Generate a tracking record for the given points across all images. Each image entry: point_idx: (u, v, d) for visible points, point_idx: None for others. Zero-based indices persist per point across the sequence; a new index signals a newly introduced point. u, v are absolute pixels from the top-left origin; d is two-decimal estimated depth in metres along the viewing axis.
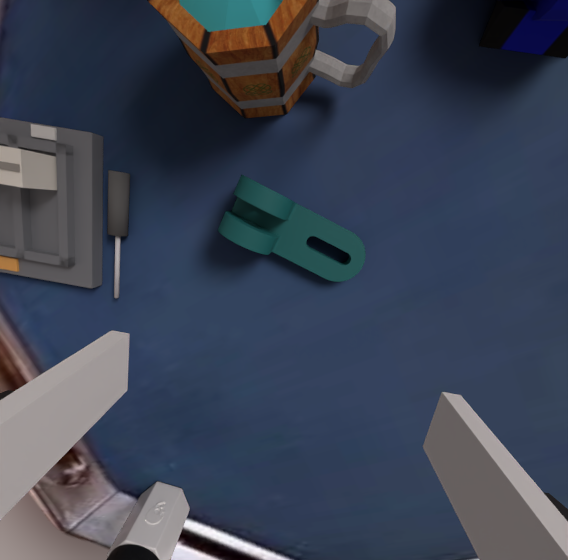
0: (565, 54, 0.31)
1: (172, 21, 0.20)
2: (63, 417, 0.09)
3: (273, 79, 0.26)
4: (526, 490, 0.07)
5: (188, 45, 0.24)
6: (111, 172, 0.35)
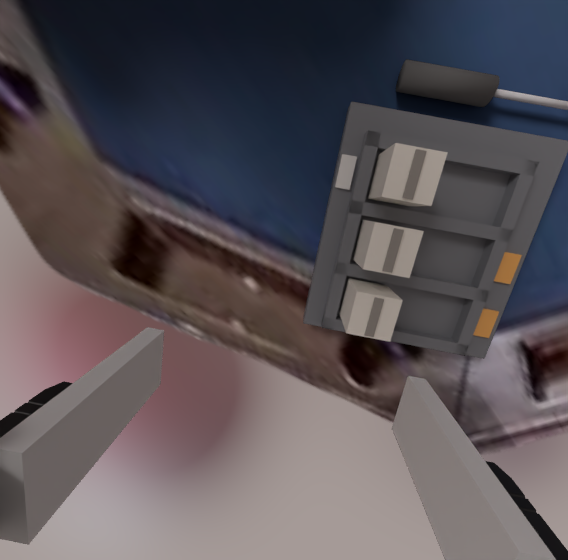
0: None
1: None
2: (114, 407, 0.10)
3: None
4: (468, 456, 0.08)
5: None
6: (407, 73, 0.25)
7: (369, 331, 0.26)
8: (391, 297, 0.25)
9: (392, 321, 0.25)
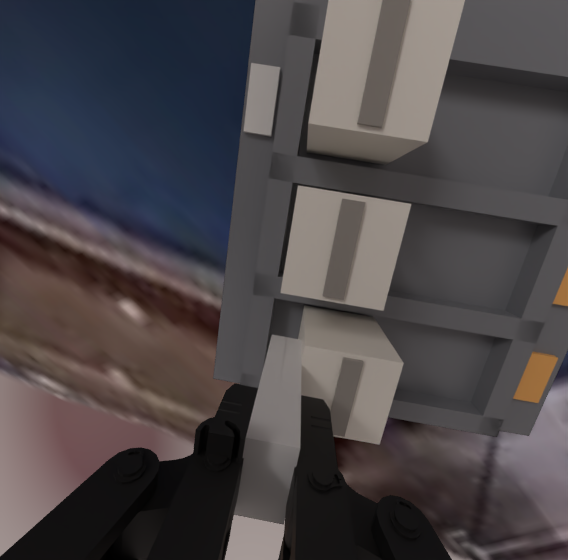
0: None
1: None
2: None
3: None
4: (287, 389, 0.10)
5: None
6: None
7: (336, 424, 0.12)
8: (379, 356, 0.12)
9: (383, 405, 0.12)
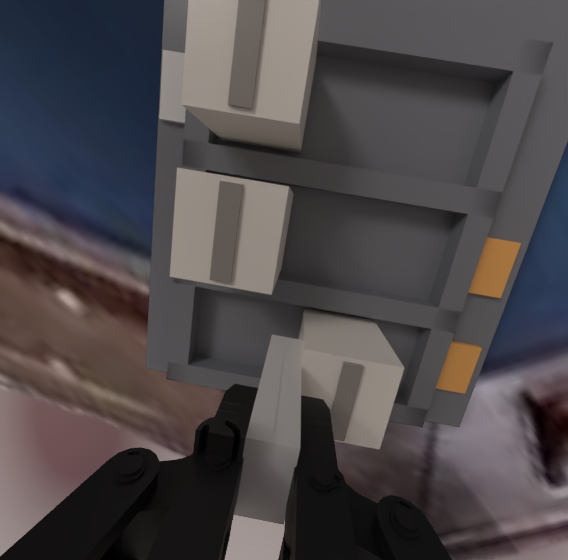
0: None
1: None
2: None
3: None
4: (287, 389, 0.10)
5: None
6: None
7: (336, 429, 0.12)
8: (380, 360, 0.12)
9: (383, 410, 0.12)
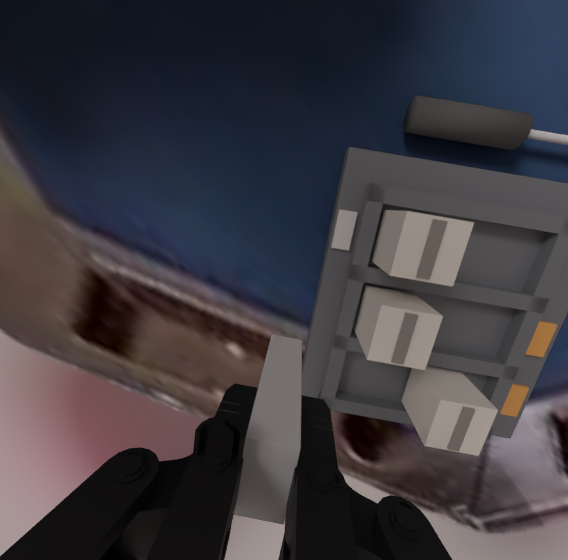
0: None
1: None
2: None
3: None
4: (288, 389, 0.10)
5: None
6: (418, 113, 0.20)
7: (453, 444, 0.21)
8: (482, 405, 0.20)
9: (483, 433, 0.20)
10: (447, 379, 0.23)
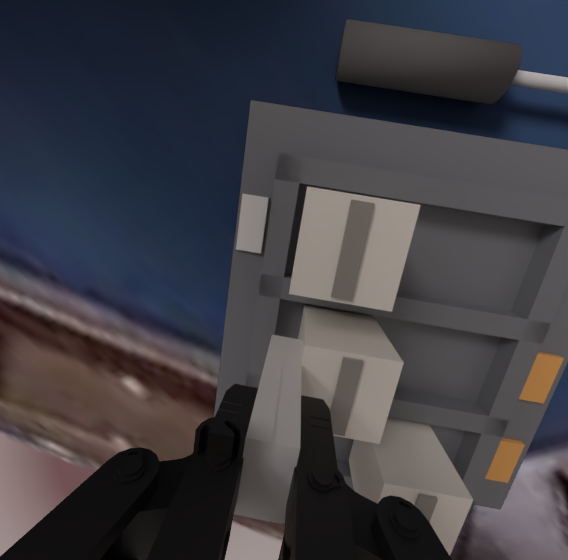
0: None
1: None
2: None
3: None
4: (288, 389, 0.10)
5: None
6: (347, 44, 0.13)
7: None
8: (450, 490, 0.13)
9: (452, 532, 0.13)
10: (404, 439, 0.16)
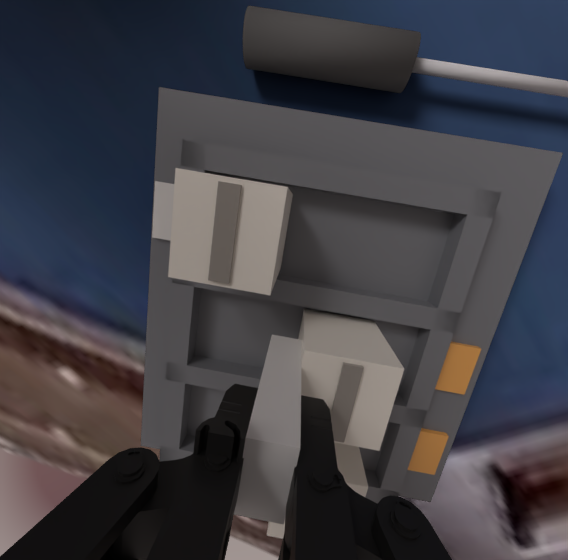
0: None
1: None
2: None
3: None
4: (287, 389, 0.10)
5: None
6: (248, 31, 0.13)
7: None
8: (347, 477, 0.13)
9: None
10: None
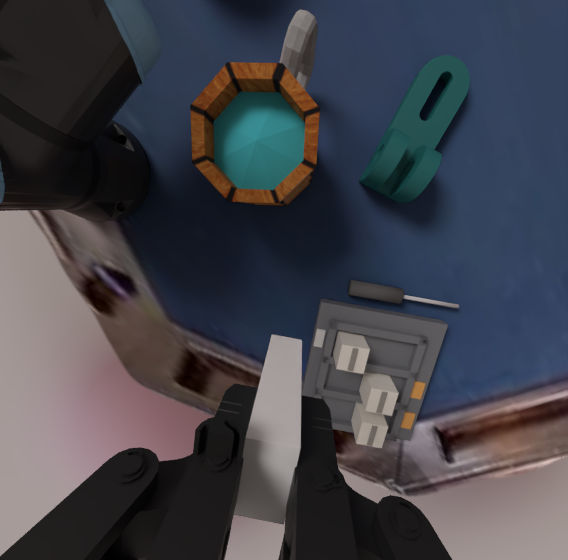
0: None
1: (293, 186, 0.29)
2: None
3: None
4: (288, 389, 0.10)
5: (288, 193, 0.33)
6: (352, 290, 0.44)
7: (369, 442, 0.44)
8: (381, 424, 0.44)
9: (382, 437, 0.44)
10: None
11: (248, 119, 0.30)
